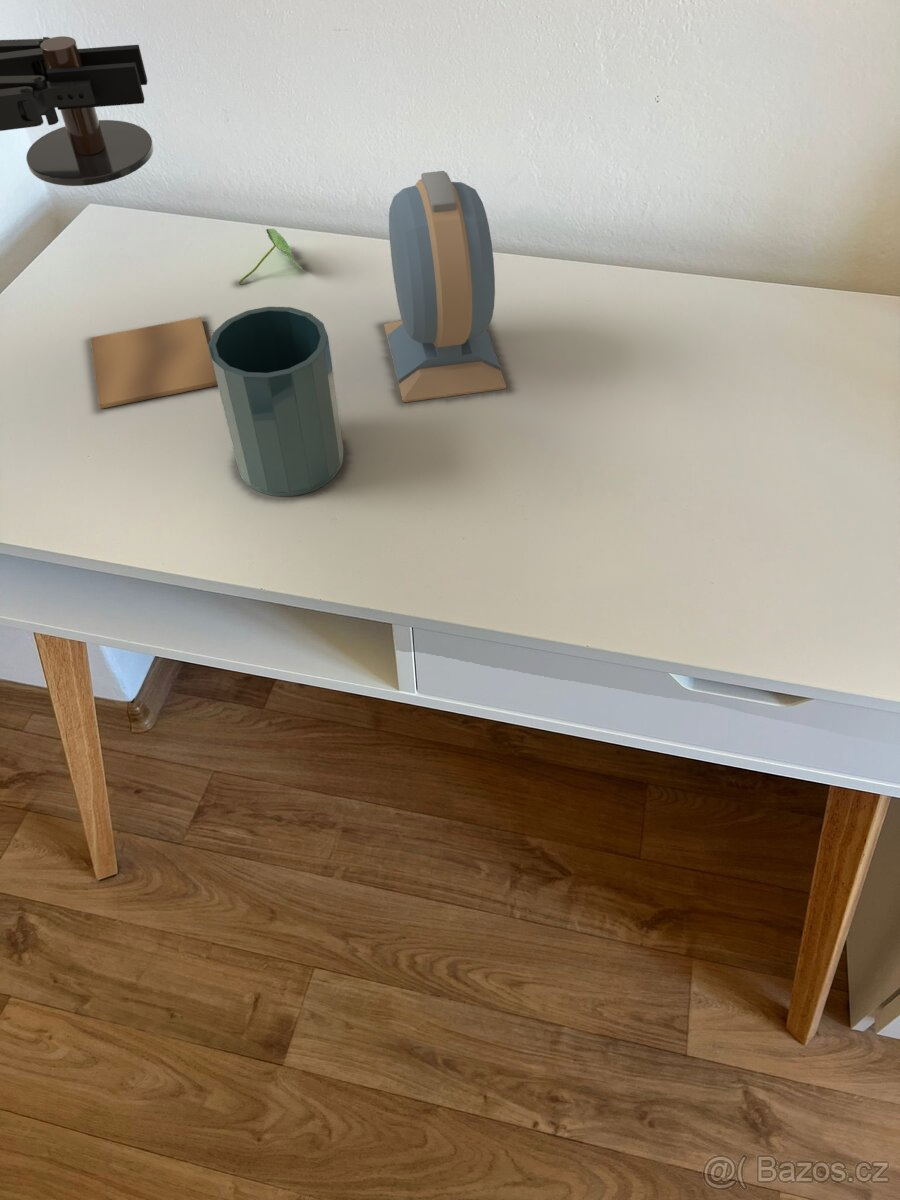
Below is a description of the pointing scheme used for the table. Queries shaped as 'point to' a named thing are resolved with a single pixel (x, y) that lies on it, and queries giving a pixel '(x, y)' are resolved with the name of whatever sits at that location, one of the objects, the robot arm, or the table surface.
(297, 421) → the jar
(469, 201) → the alarm clock
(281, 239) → the seedling
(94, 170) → the lid
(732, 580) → the table surface
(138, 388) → the mat
